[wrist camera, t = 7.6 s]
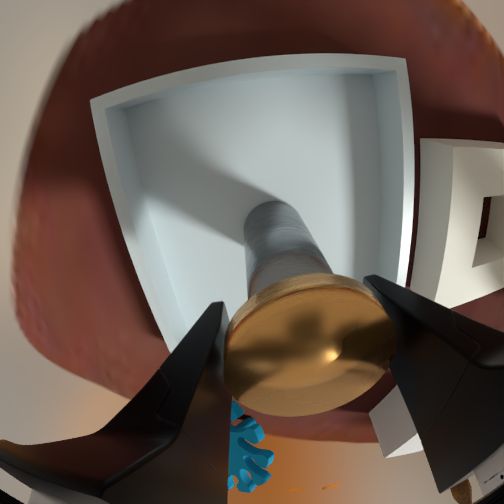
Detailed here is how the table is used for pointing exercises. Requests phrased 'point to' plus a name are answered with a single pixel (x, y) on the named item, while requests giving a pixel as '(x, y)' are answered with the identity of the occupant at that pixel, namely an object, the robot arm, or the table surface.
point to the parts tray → (258, 171)
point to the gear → (247, 453)
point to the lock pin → (301, 324)
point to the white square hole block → (459, 221)
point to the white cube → (395, 426)
